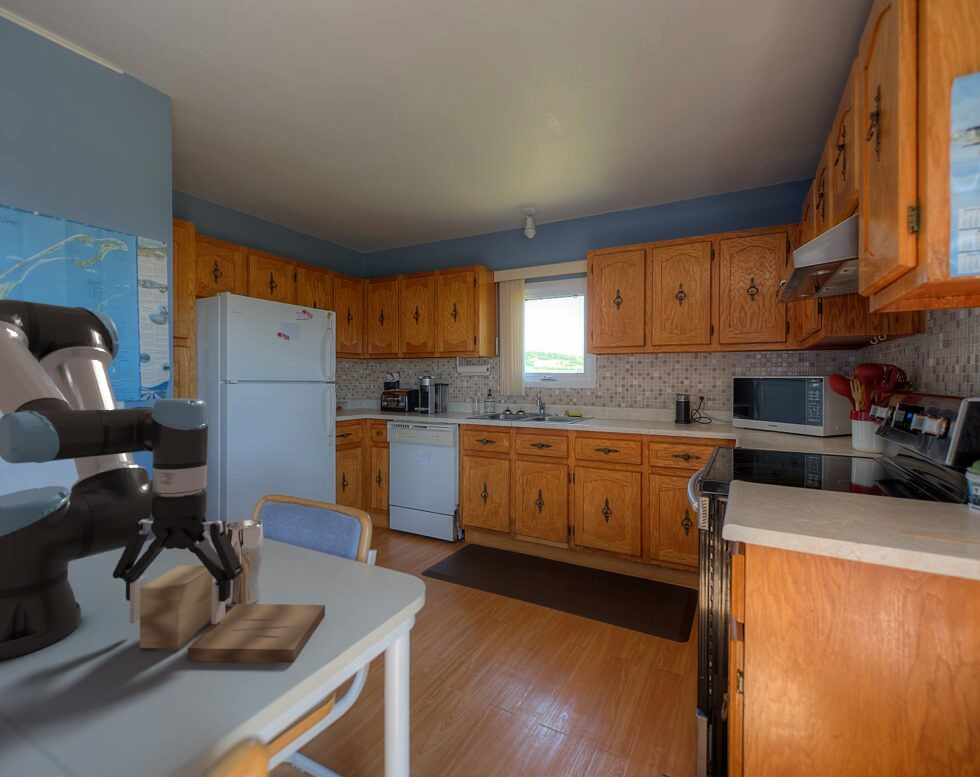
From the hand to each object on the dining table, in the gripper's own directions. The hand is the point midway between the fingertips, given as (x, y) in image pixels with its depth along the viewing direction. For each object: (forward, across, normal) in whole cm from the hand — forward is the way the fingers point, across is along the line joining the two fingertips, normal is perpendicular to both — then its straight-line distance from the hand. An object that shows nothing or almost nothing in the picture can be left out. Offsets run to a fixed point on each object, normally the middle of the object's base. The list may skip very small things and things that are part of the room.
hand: (178, 619), depth 76 cm
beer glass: (+3, +4, +12) cm, 13 cm away
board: (+3, +14, 0) cm, 14 cm away
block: (+3, 0, 0) cm, 3 cm away
